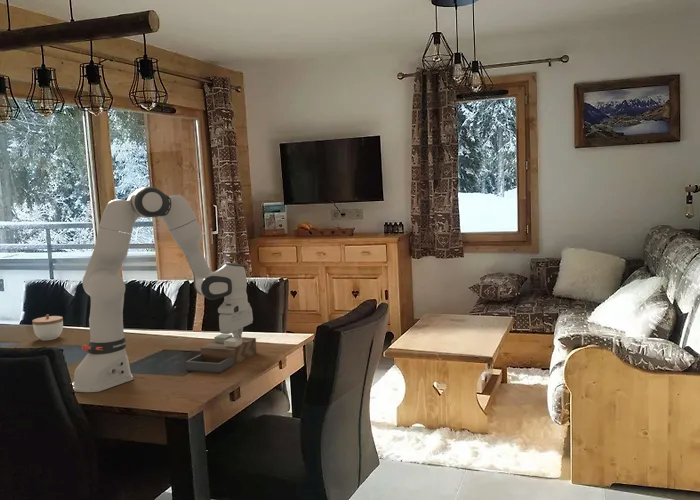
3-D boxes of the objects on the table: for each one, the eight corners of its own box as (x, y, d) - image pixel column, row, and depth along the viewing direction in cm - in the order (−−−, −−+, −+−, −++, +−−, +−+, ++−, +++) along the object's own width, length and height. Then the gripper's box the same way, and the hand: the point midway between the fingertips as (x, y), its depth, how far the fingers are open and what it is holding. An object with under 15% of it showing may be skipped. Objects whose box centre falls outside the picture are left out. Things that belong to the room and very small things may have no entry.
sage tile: (225, 342, 244) (225, 337, 244) (214, 342, 246) (214, 337, 245) (232, 339, 249) (232, 334, 249) (221, 339, 250) (220, 334, 250)
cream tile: (235, 347, 237) (235, 341, 237) (224, 346, 239) (223, 341, 239) (242, 343, 242) (242, 338, 242) (230, 342, 244) (230, 337, 244)
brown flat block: (233, 365, 234) (233, 349, 233) (201, 363, 239) (200, 347, 238) (256, 352, 251) (255, 337, 250) (225, 350, 256) (224, 336, 255)
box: (219, 373, 225) (219, 363, 224) (186, 370, 229) (185, 361, 229) (233, 365, 234) (233, 356, 234) (201, 363, 239) (200, 354, 238)
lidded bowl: (44, 343, 278) (42, 318, 277) (27, 340, 285) (25, 316, 284) (70, 336, 289) (68, 313, 288) (53, 334, 295) (51, 311, 294)
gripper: (241, 299, 254) (243, 333, 255) (215, 309, 234) (217, 346, 236) (255, 300, 252) (257, 334, 253) (230, 310, 232) (232, 347, 234)
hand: (237, 340), depth 244 cm, fingers closed
